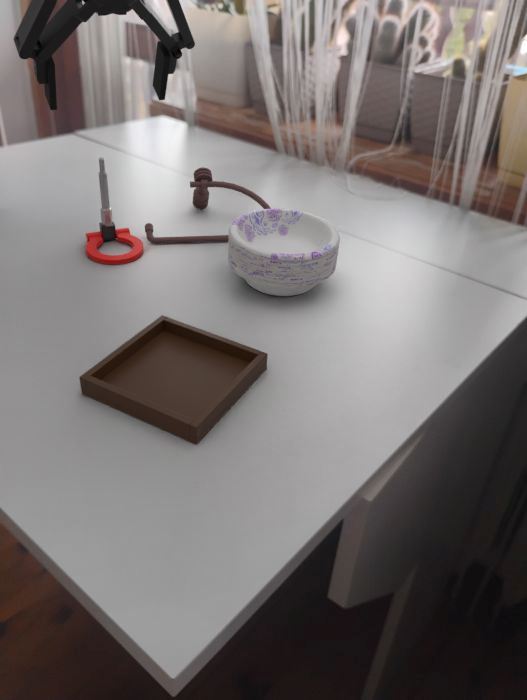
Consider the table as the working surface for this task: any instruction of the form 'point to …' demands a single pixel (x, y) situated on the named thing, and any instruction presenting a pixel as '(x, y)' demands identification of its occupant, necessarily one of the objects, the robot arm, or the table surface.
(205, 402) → the tray
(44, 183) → the table surface
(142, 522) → the table surface
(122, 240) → the tow hook
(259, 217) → the paper bowls
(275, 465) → the table surface
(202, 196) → the toilet paper hanger
